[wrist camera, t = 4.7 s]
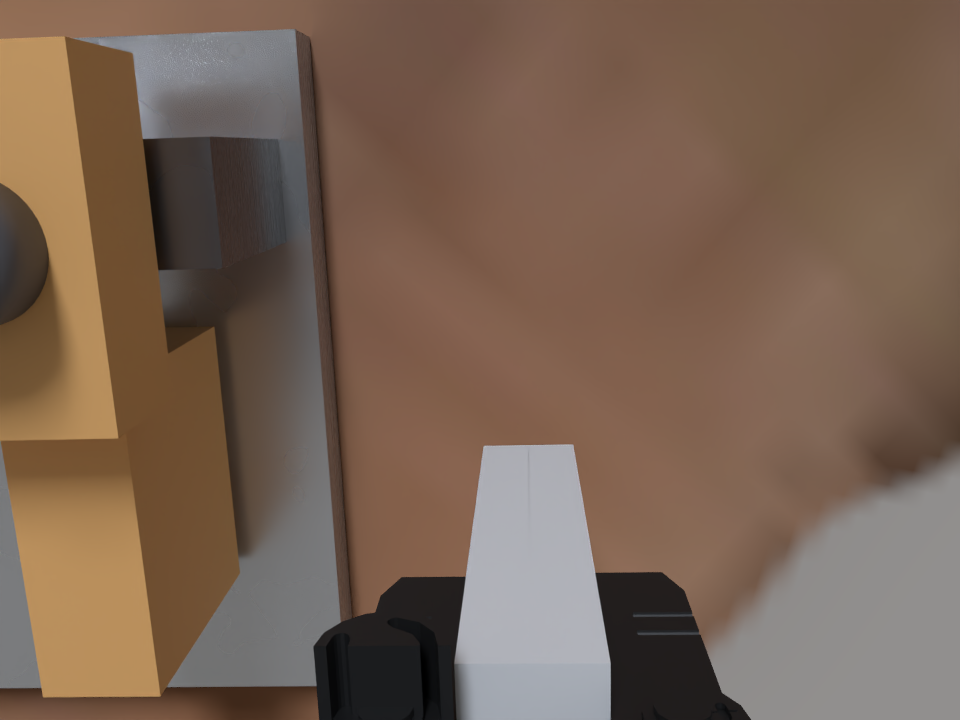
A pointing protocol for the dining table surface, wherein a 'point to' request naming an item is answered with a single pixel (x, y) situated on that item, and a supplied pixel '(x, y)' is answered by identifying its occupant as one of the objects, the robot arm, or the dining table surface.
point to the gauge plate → (240, 342)
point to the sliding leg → (101, 387)
